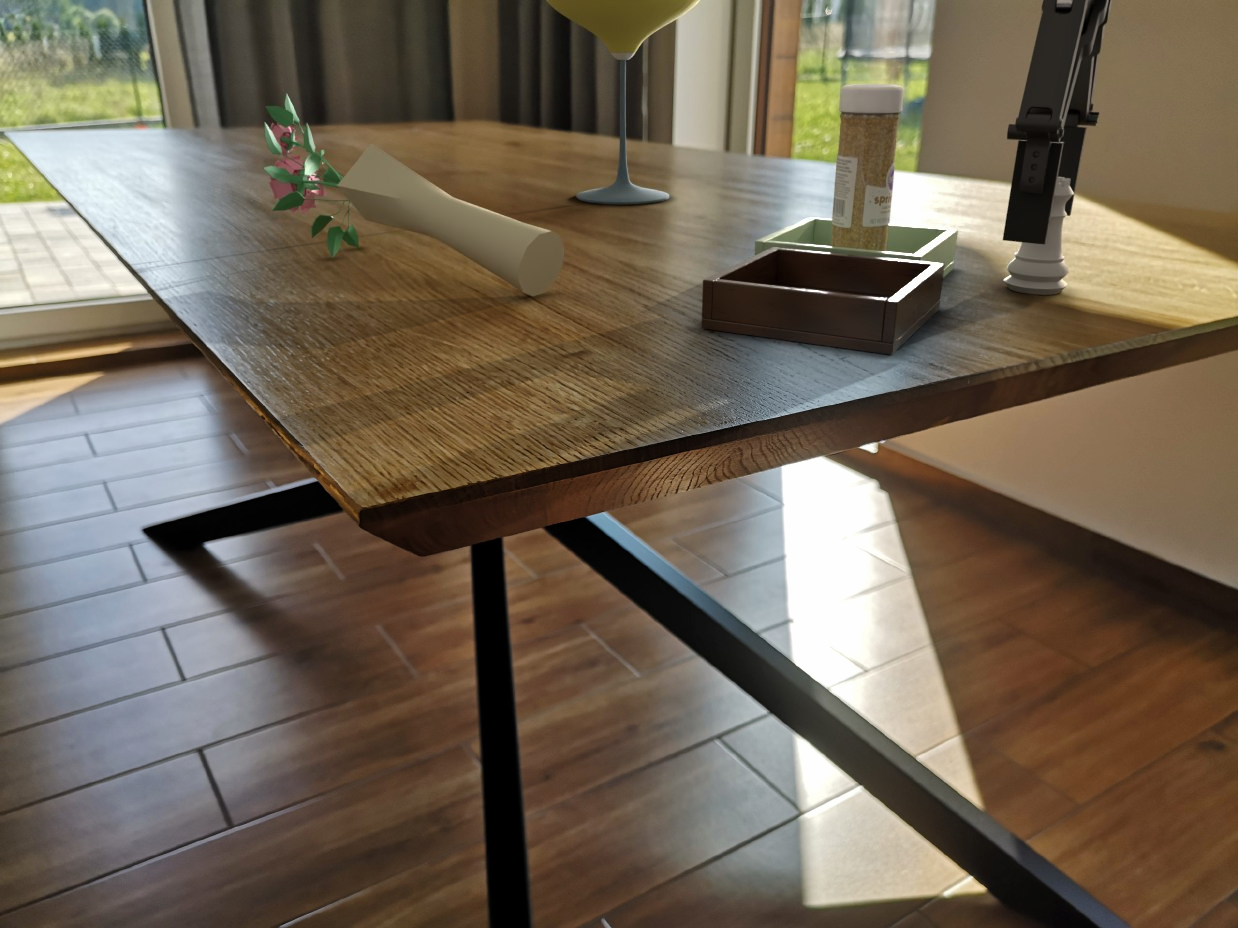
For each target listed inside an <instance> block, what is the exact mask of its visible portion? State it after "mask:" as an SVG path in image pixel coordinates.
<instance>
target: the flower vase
mask: <svg viewBox="0 0 1238 928" xmlns="http://www.w3.org/2000/svg"><path fill="white" fill-rule="evenodd" d="M283 105H284V107H281V106H278V105H266V106H265V109H266V111H267V112H268V114H269V115H270V117H271V119H273V120H274V122H276V124H275V123H274V122H272V123H271V125H270V127H269V125H268V124H267V123H266V122H265V121H264V122H263V123H264V124H263V129H264V130H263V131H264V138H265V142H266V144H267V147H268V149H269V150H270V153H271V154H272V155H277V156H278V157H279V156H281V155H282V157H283V161H280V160H279V159H277V160H276V161H275V164H274V165H269V166H265V167H262V169H263V170H264V171H265V173H266V174H267V175H268V176H269V179H270V181H269V182H268V184H269V187H270V190H271V191H272V193H273V198H274V199H275V200H277V199H278V201H277V203H276V204H275V205H274V207H273V208H272V209H271V211H272V212H278V211H281V212H282V211H288V210H289V211H291V212H292V213H293V214H296V213H297V211H300V212H301V213H302V214H306V213H307V212H308V211H309V210H310V209H312V208H313V209H314V208H317V205H316V204H315V202H316V201H325V202H342V205H341V207H340V209H339V211H338V212H336V213H332V214H331V215H328V214H319V215H318V216H316V217H315V219H314V221H313V222H312V225H311V227H310V229H311V231H310V233H311V234H310V235H311V239H313V238H314V237H316V236H317V235H318V234H319V233H321V232H322V231H323V230H324V229H325V228H326V227H327V226H328V225H329V223H330V222H331V221H333V220H334V216H335V215H338V214H339V213H340V212H341V211H342V209H343V207H344V204H345V202H348V205H347V206H348V209H347V211H346V213H345V215H344V217H343V220H342V222H341V224H340V225H335V226H330V227H328V230H327V234H326V246H327V248H328V251H329V254H330V256H331V258H332V259H333V258H334V257H335V256H336V255H337V253H338V251H339V250H340V249H341V247H342V242H343V241H344V243H346V244H347V246H350V247H351V246H352V247H355V248H360V244H359V243H360V242H359V234H358V232H357V230H356V227H355V226H354V224H351V225H350V222H351V221H350V220H351V219H350V210H351V208H350V207H352V206H353V207H354V208H355V209H356V211H358V213H359V214H360V215H361V217H362V218H363V219H364V220H365V221H369V222H372V223H376V224H380V225H384V226H388V227H391V228H396V229H400V230H404V231H408V232H411V233H412V232H413V233H416V234H420V235H424V236H427V237H430V238H433V239H435V240H437V241H439V242H441V243H443V244H445V245H447V246H448V247H450V248H451V249H453V250H454V251H456V252H458V253H459V254H462V256H465V257H466V258H468V259H469V260H471V261H472V262H474V263H476V265H479V266H480V267H482V268H484V269H485V270H487V271H488V272H490V273H491V274H493V275H495V276H496V277H497V278H500V279H501V280H503V281H504V282H506V283H507V284H509V285H511V286H512V287H514V288H516V289H517V290H519V291H520V292H522V293H524V294H526V295H528V296H531V297H536V296H539V295H541V294H545V293H546V291H548V290H549V289H550V287H551V286H553V284H554V283H555V282H556V281H557V279H558V277H559V275H560V273H561V270H562V268H563V266H564V259H565V254H566V253H565V252H566V248H565V246H564V242H563V240H562V239H563V238H562V236H561V235H560V234H557V233H556V232H554V231H552V230H550V229H546V228H543V227H539V226H535V225H533V224H528V223H526V222H523V221H519V220H517V219H514V218H511V217H509V216H506V215H503V214H500V213H497V212H494V211H493V210H490V209H487V208H484V207H481V206H479V205H476V204H473V203H471V202H468V201H465V200H462V199H459V198H456V197H454V196H452V195H450V194H448V192H445V190H443V189H441V188H440V187H438V186H436V184H434V183H432V182H431V181H429V179H428V180H427V179H426V178H425V177H423V176H422V175H420V174H418V173H417V172H416V171H414V170H412V169H411V168H409V167H408V166H406V165H405V164H403V163H402V162H400V161H399V160H397V159H396V158H394V157H393V156H391V155H390V154H388V153H387V152H386V151H384V150H382V149H381V148H380V147H378V146H377V145H375V144H373V143H370V145H369V146H368V147H367V148H366V149H365V150H364V152H363V153H362V154H361V155H360V157H359V158H357V160H356V161H355V163H354V164H353V165H352V167H351V168H350V169H349V170H348V171H347V173H346V174H344V175H342V174H341V173H340V172H339V171H337V170H335V169H334V168H333V166H332V165H331V164H330V163H329V162H328V161H327V160H326V158H325V157H324V154H325V150H324V149H321V150H320V153H319V152H318V151H317V150H316V144H315V141H314V139H313V135H312V131H311V128H310V126H309V124H308V122H306V123H305V126H304V130H303V128H302V126H301V124H300V121H301V120H300V119H299V117H298V115H297V112H296V109H295V107H294V105H293V103H292V101H291V99H290V97H289V95H288V93H285V97H284V104H283ZM295 122H296V123H297V124H298V125H299V126H298V125H297V124H296V123H295ZM292 125H294V126H296V127H297V128H298V129H299V130H300V131H301V133H302V135H303V143H300V142H298V139H299V136H296V132H297V130H296V127H295V128H294V127H293V126H292ZM294 147H295V148H297V147H301V148H303V149H305V151H306V152H308V153H309V154H308V155H307V156H306V158H305V160H304V163H303V161H302V160H301V155H300V154H295V155H293V156H288V155H289V154H290V155H291V154H293V152H292V151H293V150H294ZM324 164H325V165H326V166H327V169H326V171H325V167H324ZM320 165H321V167H322V170H323V176H322V175H320V174H319V173H320V170H319V169H320ZM323 186H327V187H332V188H335V189H339V190H340V191H341V192H342V194H343V195H344V197H346V199H324V198H323V199H321V198H315V195H316V196H319V197H325V196H326V191H325V190H324V187H323ZM308 190H310V191H308ZM299 209H300V210H299ZM347 214H348V217H347V218H348V226H347V229H346V230H345V231H344V230H343V229H342V228H341V227H342V225H343V224H344V221H345V219H346V216H347Z"/></svg>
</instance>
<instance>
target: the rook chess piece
mask: <svg viewBox="0 0 1238 928" xmlns="http://www.w3.org/2000/svg"><path fill="white" fill-rule="evenodd" d="M1070 181H1071V179H1069V178H1065V177H1058V178H1057V184H1056V190H1055V195H1054V201H1053V207H1052V212H1051V218H1050V224H1049V229H1048V235H1047V241H1046V243H1045V245H1044V244H1034V243H1024V242H1020V243H1021V244H1020V245H1019V248H1018V250H1017V251H1016V252H1015V253H1014V258H1013V259H1011V261H1009V262H1008V264H1007V266H1006V270H1007V272H1008V274H1010V275H1009V276H1007V277H1005V278H1004V279H1003V281H1004V284H1005V285H1006V287H1007V288H1008V289H1009V290H1011V291H1013V292H1016V293H1022V294H1027V295H1028V294H1029V295H1042V296H1044V295H1046V296H1047V295H1056V294H1060V293H1061V292H1062V291H1064V289H1065V288H1066V287H1067V286H1068V283H1067V282H1066V281H1065V280H1064V279H1063V278H1065V277H1066V276H1067V275H1068V274H1069V267H1068V265H1067V264H1066V262H1065V261H1064V259H1065V258H1066V257H1065V256H1064V255H1063V249H1062V246H1063V245H1062V243H1063V242H1062V241H1063V240H1062V239H1063V238H1062V237H1063V225H1064V224H1063V223H1064V219H1065V218H1066V217H1067V216H1066V215H1067V213H1066V212H1065V204H1066V202H1067V201H1068V200H1069V199H1070V197H1071V196H1072V195H1073V194H1074V192H1073V191H1072V189H1071V187H1070ZM1074 195H1075V194H1074Z"/></svg>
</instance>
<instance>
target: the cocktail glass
mask: <svg viewBox="0 0 1238 928" xmlns="http://www.w3.org/2000/svg"><path fill="white" fill-rule="evenodd" d="M545 1H546V2H547V3H548V5H549V6H551V7H552V8H553V9H554V10H555V11H557V12H558V13H559V14H561V15H562V16H564V17H565V18H567V19H569V20H570V21H571V22H573V23H575V24H577V25H578V26H580V27H582V28H584V29H586V30H587V31H589V32H590V33H591V34H593V35H594V36H596V37H598V38H599V40H601V41H602V42H603V44H604V45H605V47H606V48H607V49H608V51H609V53H610V54H611V55H612V57H613V58H614V59H616V60H618V61H619V94H620V95H619V154H618V165H617V166H618V167H617V174H616V177H615V181H614V183H612V184H610V185H608V186H604V187H599V188H594V189H588V190H585V191H580V192H578V193H576V196H575V197H576V199H577V200H579V201H581V202H586V203H591V204H601V205H617V206H619V205H620V206H621V205H624V206H625V205H628V206H629V205H646V204H647V205H648V204H654V203H661V202H664V201H667V200H668V199H670V194H669V193H667V192H665V191H661V190H658V189H653V188H646V187H643V186H638V185H637V184H633V183H632V182H631V180H630V175H629V170H628V161H627V160H628V159H627V122H626V121H627V118H626V117H627V115H626V114H627V110H626V108H627V106H626V105H627V104H626V99H627V98H626V93H627V92H626V89H627V87H626V85H627V84H626V83H627V82H626V80H627V79H626V78H627V77H626V76H627V74H626V73H627V66H626V65H627V62H626V61H629V60H630V59H632V58H633V56H635V55H636V52H637V51H638V50H639V47H640V46H641V45H642V43H644V41H645V40H646V39H647V38H649V37H650V36H651V35H653V34H654V33H655V32H657V31H659V30H660V29H663V28H664V27H666V26H667V25H669V24H671V23H673V22H675V21H676V20H678V19H679V18H681V17H682V16H684V15H686V14H687V13H688V12H689V11H691V10H692V9H694V7H695V6H696V5H698V3H699V2H700V1H701V0H545Z"/></svg>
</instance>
